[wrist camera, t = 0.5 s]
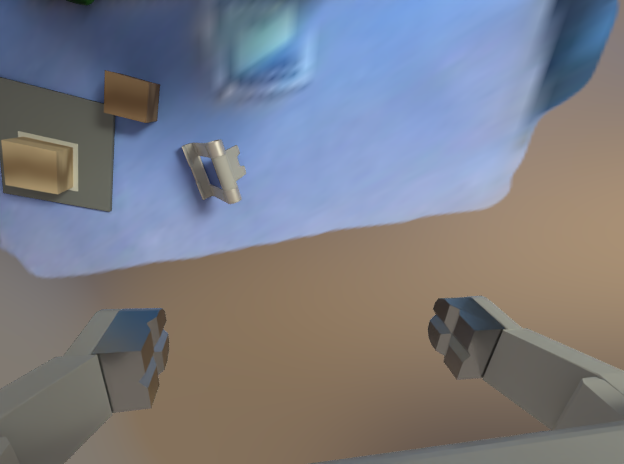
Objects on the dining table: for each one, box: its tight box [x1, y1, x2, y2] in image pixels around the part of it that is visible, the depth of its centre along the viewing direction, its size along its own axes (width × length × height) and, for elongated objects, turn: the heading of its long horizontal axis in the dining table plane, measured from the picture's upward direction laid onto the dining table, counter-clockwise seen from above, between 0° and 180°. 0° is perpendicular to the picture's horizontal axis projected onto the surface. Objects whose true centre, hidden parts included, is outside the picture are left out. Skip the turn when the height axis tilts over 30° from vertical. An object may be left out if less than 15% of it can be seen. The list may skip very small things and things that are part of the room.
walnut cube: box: [104, 71, 160, 123], centre depth 41 cm, size 5×5×5 cm
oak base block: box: [1, 137, 73, 194], centre depth 42 cm, size 6×6×4 cm
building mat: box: [0, 77, 115, 212], centre depth 44 cm, size 16×14×1 cm
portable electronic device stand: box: [182, 139, 246, 204], centre depth 45 cm, size 9×8×8 cm
